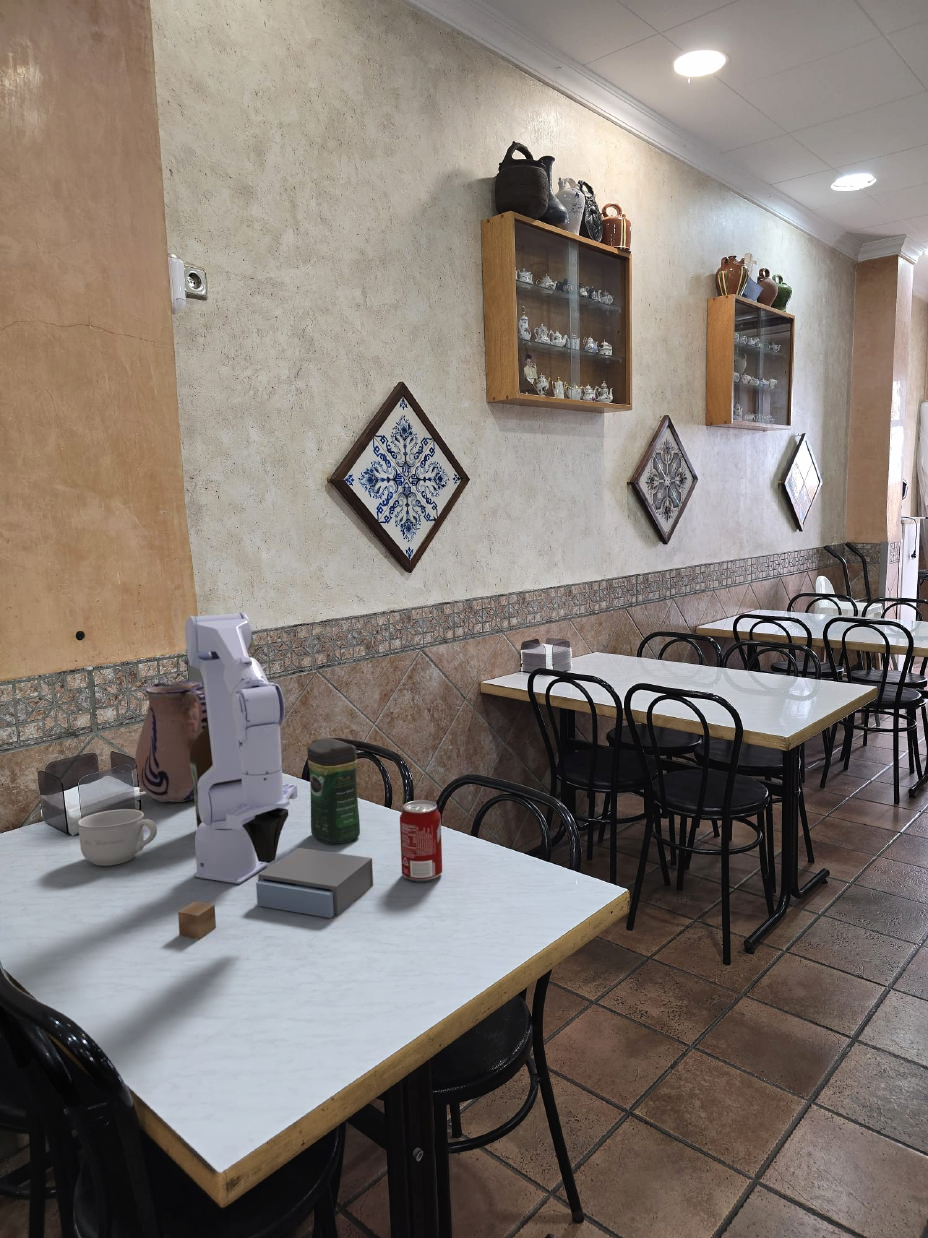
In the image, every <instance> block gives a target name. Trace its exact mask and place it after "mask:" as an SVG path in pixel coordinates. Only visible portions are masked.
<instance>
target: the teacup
mask: <svg viewBox="0 0 928 1238" xmlns="http://www.w3.org/2000/svg"><path fill="white" fill-rule="evenodd" d="M77 826H78V835H79V837H78V838H79V845H80V851H81V854H82V856H83V857H84V859H86V860H87V861H89V862H91V863H92V864H93V865H95V866H102V867H103V866H114V865H120V864H123V863H126V862H128V861H131V860H132V859H133V858H134V857H136V855H137V854H138V853H139V852H141V851H143V850H144V848H145V846H147V845H149V844H150V843H152V842H153V841H154V839H155V838H156V836H157V834H158V827H157V825H156V823H155V822H154V821H153V820H151V819H149V818H146V819H144V812H142V811H141V810H138V809H129V808H125V809H124V808H122V809H121V808H120V809H114V810H113V809H112V810H105V811H101V812H100V811H99V812H97V813H93V814H90V815H86V816H84V817H83V818H82V817H81V818H80V819H79V820H78V821H77ZM144 826H147V828H148V829H149V835H148V837H147V838H146V839H145V837H144V835H145V834H144V833H145V829H144Z"/></svg>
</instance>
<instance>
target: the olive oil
mask: <svg viewBox="0 0 928 1238" xmlns="http://www.w3.org/2000/svg"><path fill="white" fill-rule="evenodd" d="M207 722H208V716H207ZM239 749H240V741H239ZM212 765H213V762H212V753H211V744H210V735H209V725H208V723H207V726H206V727H205V728H204V729H203V731H202V732H201V733H200V734H199V735H198V736H197V738H196V739H195V740H194V742H193V743H192V746H191V750H190V767H191V775H192V783H193V792H194V799H193V800H194V808H195V816H196V817H195V818H196V830H197V829H198V827H199V825H200V824H201V823H202V821H201V819H200V815H199V809H198V781H199V779H200V777H201V776H202V775H203V774H204V773H205V772H206V771H207V770H209V769H210V768H211V766H212ZM240 781H242V779H236V780H230V781H224V782H218V783H215V784H213V785H212V786H217V785H223V784H229V783H234V782H240Z"/></svg>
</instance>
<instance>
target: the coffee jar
mask: <svg viewBox="0 0 928 1238" xmlns="http://www.w3.org/2000/svg"><path fill="white" fill-rule="evenodd" d="M357 754H358V753H357V749H356V746H355V745H353V744H350V743H347V742H344V741H341V740H339V739H335V738H333V737H326V738H324V737H323V738H320V739H314V740H312V742H311V743H310V744H309V746H308V748H307V765H308V771H309V779H310V780H309V781H310V782H309V783H310V833H311V835H312V836H313V837H314V838H315V839H316V840H319V841H321V842H323V843H325V844H328V845H329V844H330V845H331V844H340V843H341V844H346V843H349V842H351V841H353V840H355V839H356V838H358V837H359V836H360V834H361V827H360V825H361V824H360V815H359V814H360V811H359V801H358V800H359V799H358V789H357V788H358V787H357V785H358V784H357V767H358V756H357Z"/></svg>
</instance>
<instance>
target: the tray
mask: <svg viewBox="0 0 928 1238" xmlns="http://www.w3.org/2000/svg"><path fill="white" fill-rule="evenodd" d="M255 887H256V889H255V890H256V904H257V906H259V907H265V908H271V909H276V910H277V909H278V910H282V911H288V912H294V913H300V914H306V915H311V916H317V917H322V918H328V919H330V918H333V916H335V915H334V906H333V892H331V889H330V891H324V890H317V889H311V888H305V887H299V886H295V884H294V883H287V884H280V883H274V882H267V881H261V880H260V881H257V882H256V883H255Z"/></svg>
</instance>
